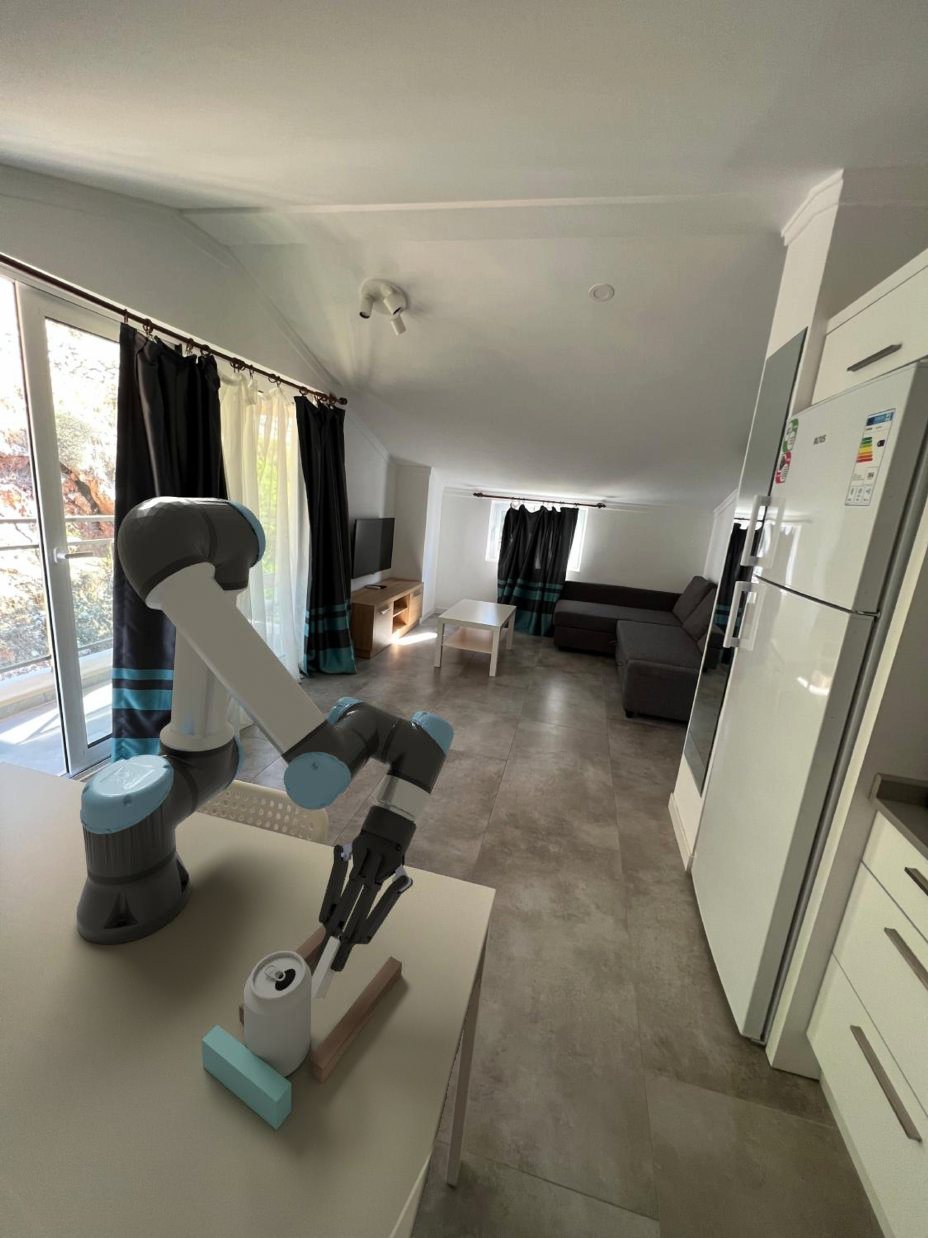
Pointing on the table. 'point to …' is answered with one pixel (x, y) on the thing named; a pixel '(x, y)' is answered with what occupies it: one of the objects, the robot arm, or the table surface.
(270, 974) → the can
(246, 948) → the table surface
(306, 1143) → the table surface
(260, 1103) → the bar
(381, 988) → the chute
